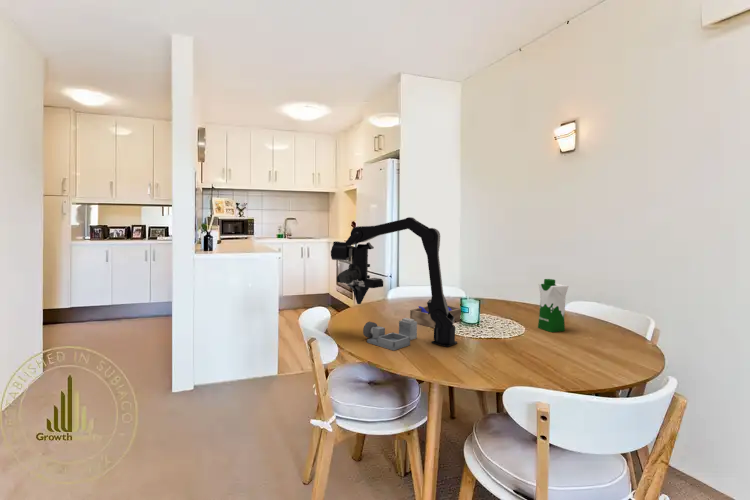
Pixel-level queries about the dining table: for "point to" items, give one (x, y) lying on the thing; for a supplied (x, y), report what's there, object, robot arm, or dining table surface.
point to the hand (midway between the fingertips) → (359, 304)
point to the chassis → (388, 339)
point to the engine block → (408, 328)
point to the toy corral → (426, 319)
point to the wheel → (368, 329)
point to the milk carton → (552, 306)
